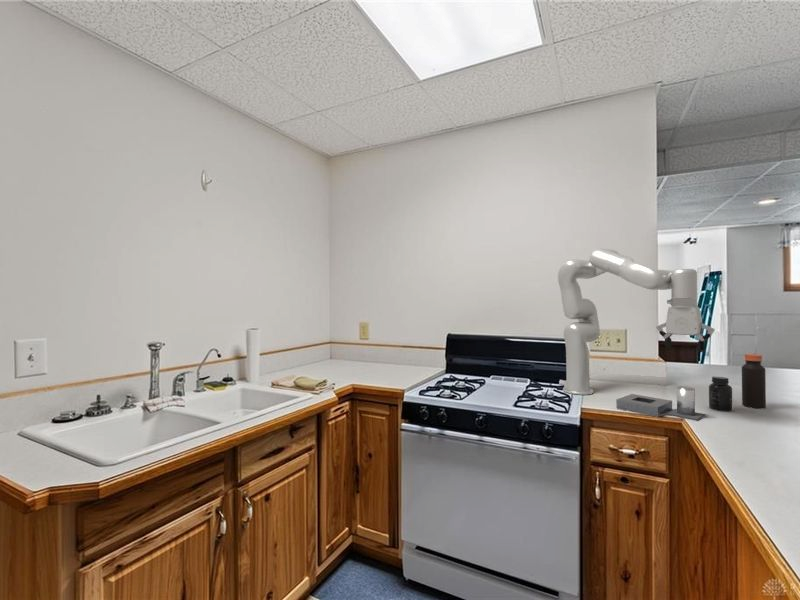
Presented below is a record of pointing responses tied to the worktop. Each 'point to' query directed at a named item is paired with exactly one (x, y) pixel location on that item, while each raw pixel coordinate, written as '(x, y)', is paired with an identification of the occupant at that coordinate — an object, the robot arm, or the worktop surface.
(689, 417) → the mat
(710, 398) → the supplement bottle
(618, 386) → the worktop surface
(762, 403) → the vinegar
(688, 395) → the shiny grey cylinder
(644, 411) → the block
